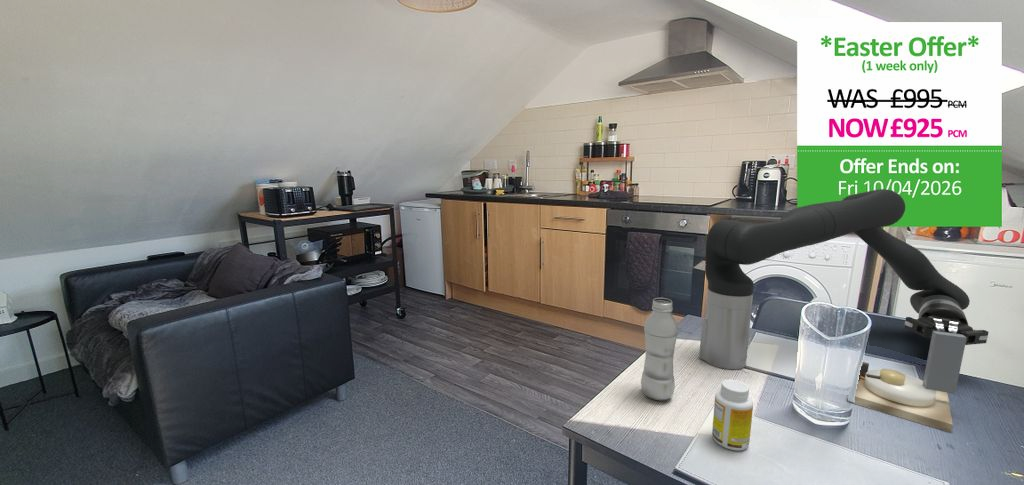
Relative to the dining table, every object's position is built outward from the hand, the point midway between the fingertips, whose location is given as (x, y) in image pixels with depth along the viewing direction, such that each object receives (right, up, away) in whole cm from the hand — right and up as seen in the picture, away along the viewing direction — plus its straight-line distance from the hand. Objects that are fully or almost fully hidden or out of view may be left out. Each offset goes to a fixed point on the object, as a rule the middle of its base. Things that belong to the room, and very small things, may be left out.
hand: (946, 342), depth 82 cm
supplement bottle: (-51, -14, -13) cm, 54 cm away
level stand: (-12, -11, -2) cm, 16 cm away
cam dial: (-11, -9, -3) cm, 14 cm away
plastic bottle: (-58, -11, +1) cm, 59 cm away
